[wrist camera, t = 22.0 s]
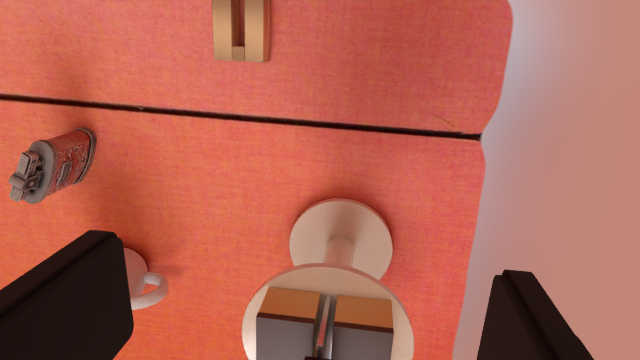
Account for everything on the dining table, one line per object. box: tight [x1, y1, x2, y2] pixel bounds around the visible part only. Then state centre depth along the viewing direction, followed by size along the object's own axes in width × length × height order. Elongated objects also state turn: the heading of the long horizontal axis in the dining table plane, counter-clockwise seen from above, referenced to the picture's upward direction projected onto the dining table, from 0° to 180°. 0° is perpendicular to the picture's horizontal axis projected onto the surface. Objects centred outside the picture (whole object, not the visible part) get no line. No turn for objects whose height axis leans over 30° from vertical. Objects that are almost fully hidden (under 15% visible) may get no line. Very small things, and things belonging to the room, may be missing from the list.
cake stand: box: [242, 198, 414, 360], centre depth 44 cm, size 15×15×18 cm
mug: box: [124, 248, 168, 310], centre depth 53 cm, size 13×9×10 cm
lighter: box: [9, 127, 96, 204], centre depth 48 cm, size 8×3×10 cm, turn 151°
